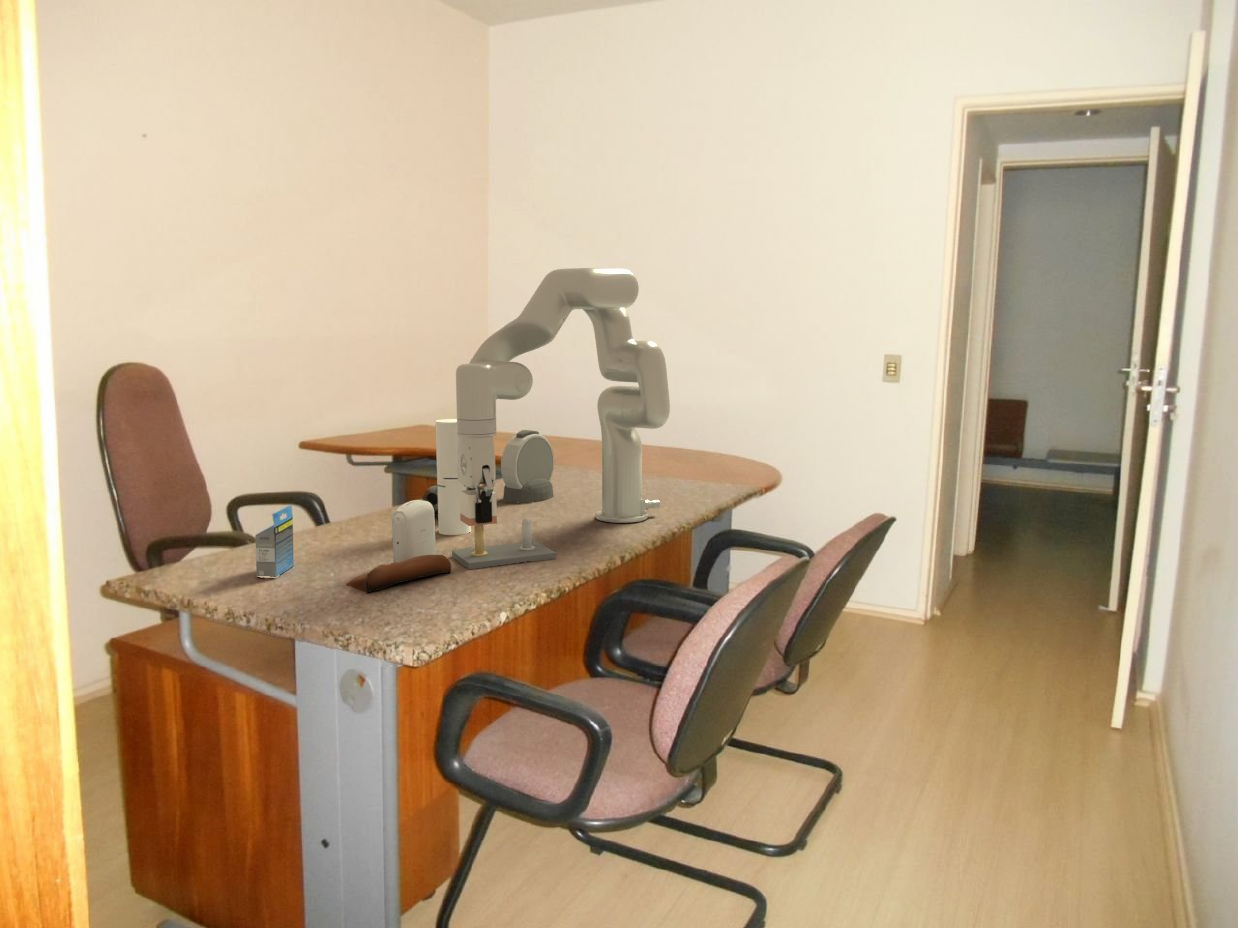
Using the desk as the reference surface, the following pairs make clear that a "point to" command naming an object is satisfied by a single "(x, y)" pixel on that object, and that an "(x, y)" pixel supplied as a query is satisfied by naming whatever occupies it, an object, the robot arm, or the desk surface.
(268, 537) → the label tape box
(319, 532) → the desk surface
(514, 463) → the alarm clock
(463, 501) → the sleeve
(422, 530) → the photo printer
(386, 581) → the sunglasses case
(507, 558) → the pin board
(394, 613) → the desk surface
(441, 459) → the cylindrical container
